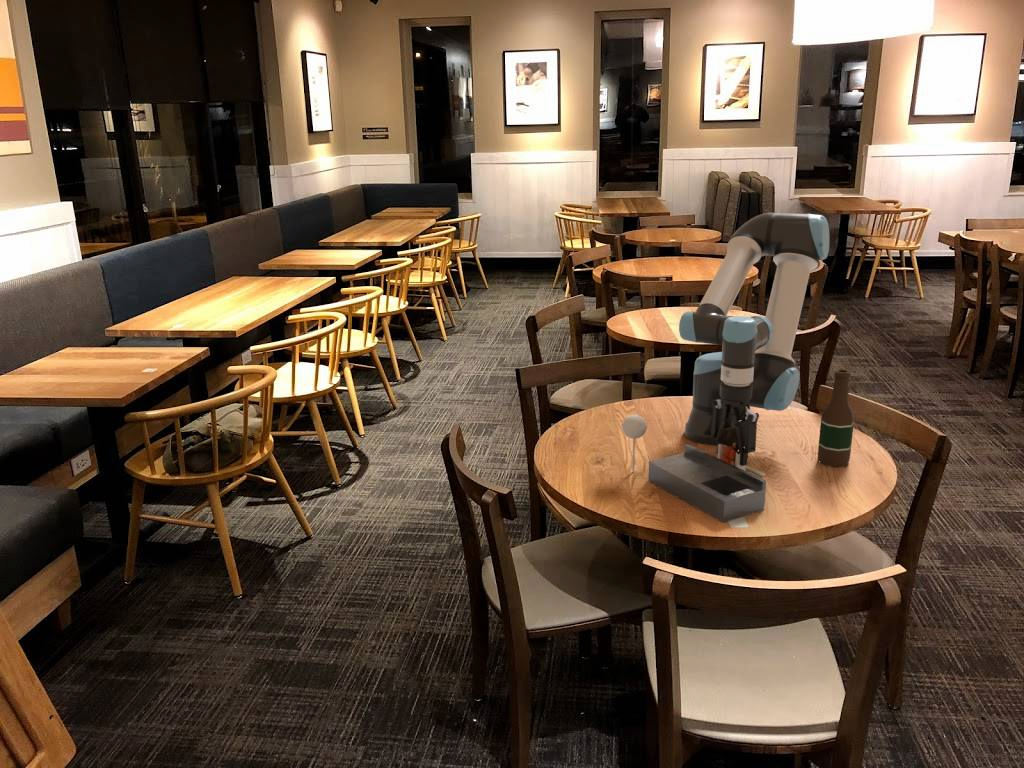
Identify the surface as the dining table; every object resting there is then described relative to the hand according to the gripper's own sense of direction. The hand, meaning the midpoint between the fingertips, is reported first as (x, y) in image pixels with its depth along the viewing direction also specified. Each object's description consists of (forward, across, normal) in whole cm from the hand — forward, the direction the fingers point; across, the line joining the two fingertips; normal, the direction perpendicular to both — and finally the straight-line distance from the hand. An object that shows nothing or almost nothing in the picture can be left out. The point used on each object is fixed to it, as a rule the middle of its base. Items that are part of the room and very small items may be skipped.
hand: (730, 472), depth 201 cm
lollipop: (+1, -13, -20) cm, 24 cm away
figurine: (+1, 0, 0) cm, 1 cm away
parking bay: (0, 0, 0) cm, 0 cm away
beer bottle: (+1, +8, +27) cm, 28 cm away
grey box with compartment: (0, +6, -14) cm, 15 cm away
